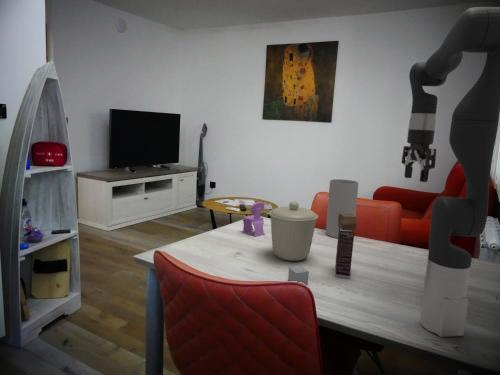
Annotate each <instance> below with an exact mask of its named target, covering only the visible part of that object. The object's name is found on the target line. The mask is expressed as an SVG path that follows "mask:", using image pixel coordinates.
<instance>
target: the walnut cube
mask: <svg viewBox="0 0 500 375" xmlns="http://www.w3.org/2000/svg"><path fill="white" fill-rule="evenodd" d="M357 221H358V216H357V215H356V216H355V215H354V214H352V213H339V216H338V227H340V228H341V229H342V230H354V231H356V229H357V224H358V223H357Z"/></svg>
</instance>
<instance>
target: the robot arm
mask: <svg viewBox="0 0 500 375" xmlns="http://www.w3.org/2000/svg"><path fill="white" fill-rule="evenodd" d="M463 52H464V53H472V54H473V53H474V54H475V53H478V54H482V53H483V54H486V58H485V64H484V66H483V69H482V72H481V74H480V75H479V78H478V79H477V80H476V82H474V84H473V86H472V87H471V88H470V89H469V90H468V91H467V93H466V94H465V95H464V96H463V97H462V98H461V100H460V101H459V103H458V104H457V105H456V107H455V108H454V110H453V112H452V116H451V123H450V129H449V140H448V141H449V142H448V143H449V145H450V148H451V151H452V152H453V154H454V156H455V158H456V159H457V162H458V164H459V166H460V167H461V169H462V171H463V174H464V176H465V180H466V194H465V197H458V196H457V197H456V196H439V197H437V198H436V199H435V200H434V202H433V203H432V207H431V210H430V211H431V212H430V224H429V225H430V227H429V236H428V237H429V238H428V255H427V262H426V270H425V276H424V277H425V278H424V286H423V292H422V299H421V309H420V314H419V324H420V325H421V326H422V327H423V328H424V329H426V330H427V331H429V332H430V333H433V334H435V335H438V336H439V337H441V338H443V337H444V338H445V337H463V336H464V332H465V326H466V320H467V312H468V306H469V299H468V298H467V291H468V284H469V279H470V271H471V266H472V259H473V258H472V255H471V253H470V252H468V251H467V250H466V249H464V248H461V247H460V246H457V245H454V244H453V243H451V236H452V237H453V236H454V237H466V238H467V237H468V238H469V237H470V238H476V237H479V236H480V235H482V233H483V232H484V230H485V228H486V225H487V221H488V220H487V219H488V211H489V196H490V180H491V179H490V178H491V177H490V176H491V169H492V163H493V158H494V157H493V156H494V149H495V146H496V140H497V135H498V134H497V133H498V129H499V121H500V6H477V7H476V6H474V7H469V8H468V9H466V10H465V11H464V12H462V13H461V15H459V17H458V18H457V20H456V21H455V23H454V24H453V26H452V27H451V29H450V30H449V32H448V33H447V35H446V37H445V39H444V40H443V42H442V43H441V45H440V47H439V48H437V50H435V52H434V53H433V54H432V55H430V56H429V58H428V59H427V60H426V61H420V62H418V61H417V62H415V63H414V64H413V65H412V66H411V68H410V70H409V73H408V76H409V84H410V88H411V95H412V101H411V102H412V104H411V110H410V111H411V112H410V117H409V123H408V129H407V140H406V142H407V143H408V144H409V145H404V146H403V149H402V155H401V156H402V157H401V164H403V165H404V167H405V168H404V178H405V179H411V178H412V177H413V169H414V167H413V166H414V164H415V163H416V162H417V163H418V164H419V166H420V174H419V182H421V183H427V182H428V180H429V174H430V170H432V169H435V167H436V158H437V149H436V148H430V146H431V145H433V143H434V141H435V140H434V137H435V133H436V131H435V130H436V123H437V122H436V121H437V117H436V116H437V108H438V96H437V95H435V94H432V93H429V92H426V91H425V90H424V88H423V87H440V86H443V85H444V84H445V83H446V81H447V78H448V76H449V74H450V73H452V72H453V71H454V70H456V69H457V68H458V67H459V65H460V64H461V63H462V60H463V56H464V55H463ZM430 163H431V164H430Z"/></svg>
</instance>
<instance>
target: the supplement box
mask: <svg viewBox="0 0 500 375" xmlns="http://www.w3.org/2000/svg"><path fill="white" fill-rule="evenodd" d="M354 240H355V230H342V229H341V228H340V227H339V232H338V238H337V242H336V243H337V245H336V254H335V265H334V272H335V274H334V275H335V277H336V278H344V279H350V278H351V268H352V260H353V250H354Z"/></svg>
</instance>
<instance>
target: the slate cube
mask: <svg viewBox="0 0 500 375" xmlns="http://www.w3.org/2000/svg"><path fill="white" fill-rule="evenodd" d="M309 273H310V271H309V270H308V269H307V268H304V267H303V266H302V265H299V266H298V265H297V266H291V267H288V277H287V281H288V282H289V281H297V282H302V283H304V284H306V285H305V286H308V285H309Z"/></svg>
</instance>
